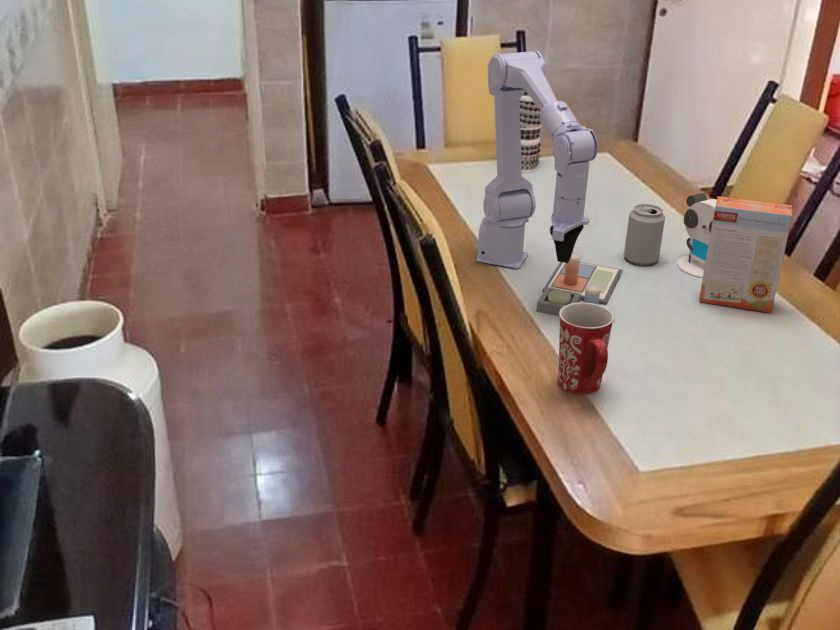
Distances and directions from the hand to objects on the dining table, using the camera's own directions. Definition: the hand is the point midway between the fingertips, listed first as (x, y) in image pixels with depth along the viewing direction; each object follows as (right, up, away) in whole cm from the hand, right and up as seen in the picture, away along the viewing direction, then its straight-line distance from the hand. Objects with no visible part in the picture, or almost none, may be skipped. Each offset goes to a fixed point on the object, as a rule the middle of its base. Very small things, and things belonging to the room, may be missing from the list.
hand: (563, 260), depth 182 cm
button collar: (0, -9, +5) cm, 10 cm away
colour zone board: (+6, -4, +14) cm, 16 cm away
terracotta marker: (+3, -4, +12) cm, 13 cm away
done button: (0, -8, +4) cm, 9 cm away
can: (+21, +2, +25) cm, 32 cm away
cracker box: (+36, -8, +8) cm, 37 cm away
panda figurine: (+33, 0, +22) cm, 40 cm away
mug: (0, -23, -21) cm, 31 cm away
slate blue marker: (+5, -10, +2) cm, 12 cm away
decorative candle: (0, +29, +74) cm, 80 cm away
